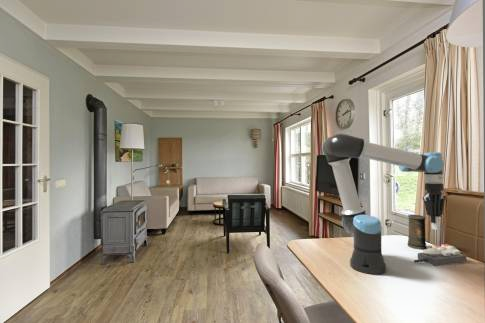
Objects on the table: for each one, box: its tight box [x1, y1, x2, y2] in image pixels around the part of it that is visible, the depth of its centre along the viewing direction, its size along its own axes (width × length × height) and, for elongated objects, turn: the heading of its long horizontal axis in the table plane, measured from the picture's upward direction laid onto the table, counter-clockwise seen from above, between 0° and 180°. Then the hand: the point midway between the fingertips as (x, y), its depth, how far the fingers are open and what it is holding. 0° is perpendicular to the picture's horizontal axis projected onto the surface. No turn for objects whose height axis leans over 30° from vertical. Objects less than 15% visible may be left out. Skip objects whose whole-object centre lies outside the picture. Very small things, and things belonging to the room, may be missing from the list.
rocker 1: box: [422, 247, 442, 255], centre depth 123 cm, size 4×7×3 cm, turn 15°
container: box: [407, 214, 428, 250], centre depth 145 cm, size 9×9×18 cm
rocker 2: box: [431, 244, 452, 256], centre depth 125 cm, size 4×7×3 cm, turn 15°
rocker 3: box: [440, 243, 461, 255], centre depth 126 cm, size 4×7×3 cm, turn 15°
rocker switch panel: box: [413, 252, 467, 267], centre depth 124 cm, size 27×9×3 cm, turn 105°
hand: (435, 229), depth 126 cm, fingers closed
